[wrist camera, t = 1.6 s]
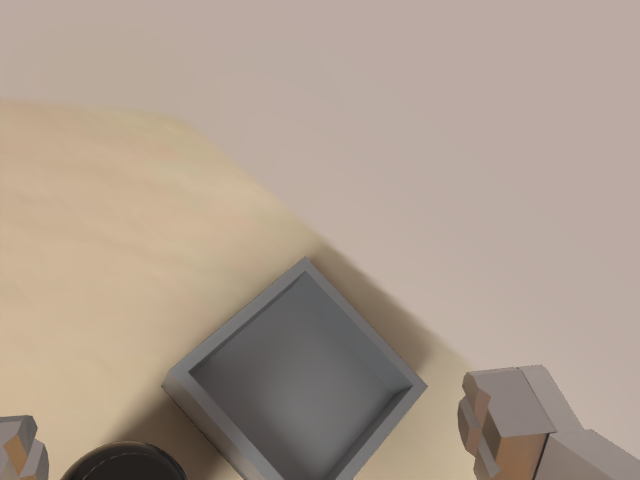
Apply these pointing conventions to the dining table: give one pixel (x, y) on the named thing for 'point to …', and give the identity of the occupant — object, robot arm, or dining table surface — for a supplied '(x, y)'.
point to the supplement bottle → (125, 464)
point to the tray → (295, 384)
